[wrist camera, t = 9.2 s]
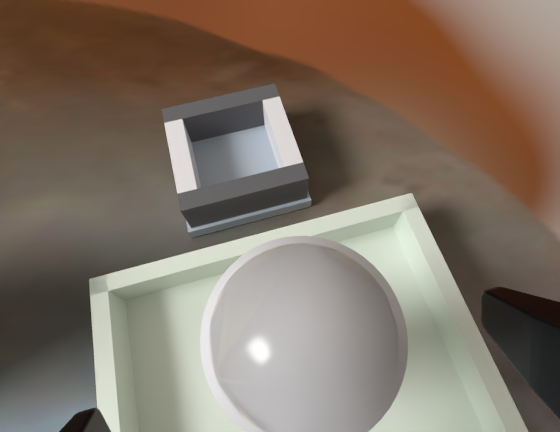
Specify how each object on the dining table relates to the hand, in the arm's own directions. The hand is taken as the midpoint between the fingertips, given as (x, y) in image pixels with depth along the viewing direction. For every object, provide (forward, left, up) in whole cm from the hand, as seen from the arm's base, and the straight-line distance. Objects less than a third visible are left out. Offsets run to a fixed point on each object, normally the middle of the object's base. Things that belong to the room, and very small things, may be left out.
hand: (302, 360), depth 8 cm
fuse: (0, 0, -10) cm, 10 cm away
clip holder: (+11, -5, -10) cm, 16 cm away
